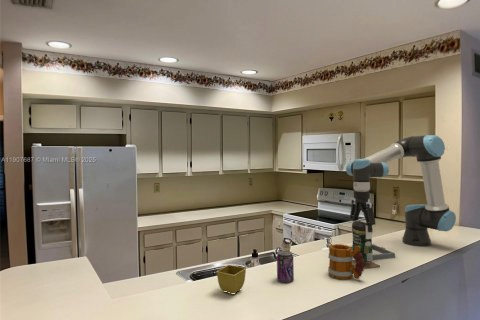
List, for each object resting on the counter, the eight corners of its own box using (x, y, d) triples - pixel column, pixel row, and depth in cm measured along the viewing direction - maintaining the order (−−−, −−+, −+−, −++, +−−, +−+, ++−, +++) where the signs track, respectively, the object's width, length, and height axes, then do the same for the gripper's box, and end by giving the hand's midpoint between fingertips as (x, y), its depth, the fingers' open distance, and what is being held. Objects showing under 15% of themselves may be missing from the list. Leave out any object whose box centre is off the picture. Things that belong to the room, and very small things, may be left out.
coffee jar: (349, 257, 161) (348, 220, 160) (362, 255, 163) (362, 219, 163) (362, 263, 151) (361, 224, 151) (375, 261, 154) (375, 223, 153)
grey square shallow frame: (373, 248, 183) (373, 243, 183) (395, 257, 166) (394, 251, 166) (347, 251, 179) (347, 245, 179) (366, 260, 162) (366, 254, 162)
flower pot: (235, 298, 122) (234, 275, 122) (216, 293, 127) (216, 271, 127) (246, 290, 130) (246, 268, 130) (228, 285, 134) (228, 264, 134)
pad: (365, 259, 164) (365, 258, 164) (379, 267, 153) (379, 265, 153) (346, 262, 161) (346, 260, 161) (359, 269, 150) (359, 267, 150)
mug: (335, 269, 152) (334, 237, 151) (369, 278, 140) (369, 244, 140) (322, 275, 144) (322, 242, 144) (358, 285, 132) (357, 249, 132)
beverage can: (283, 284, 134) (283, 256, 134) (274, 279, 141) (273, 251, 141) (297, 281, 138) (296, 253, 138) (287, 276, 144) (286, 249, 144)
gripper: (342, 188, 166) (342, 231, 167) (369, 193, 145) (369, 242, 145) (355, 188, 168) (355, 230, 169) (383, 192, 147) (384, 241, 147)
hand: (362, 236), depth 157 cm, fingers closed on coffee jar, 9 cm apart
